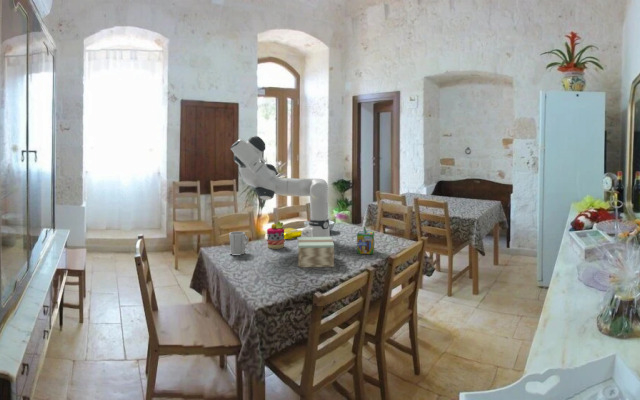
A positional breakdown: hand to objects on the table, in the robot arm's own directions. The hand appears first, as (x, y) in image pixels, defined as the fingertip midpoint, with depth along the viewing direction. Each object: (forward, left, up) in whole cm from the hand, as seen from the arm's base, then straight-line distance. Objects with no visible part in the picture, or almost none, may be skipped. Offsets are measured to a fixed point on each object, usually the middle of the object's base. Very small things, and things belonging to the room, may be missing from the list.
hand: (277, 184), depth 239 cm
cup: (-31, -5, -42) cm, 52 cm away
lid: (+12, +15, -31) cm, 37 cm away
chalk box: (+17, +49, -42) cm, 67 cm away
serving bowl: (-44, +69, -42) cm, 91 cm away
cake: (-29, +20, -42) cm, 54 cm away
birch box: (+12, +15, -41) cm, 46 cm away
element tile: (-46, +44, -42) cm, 76 cm away
